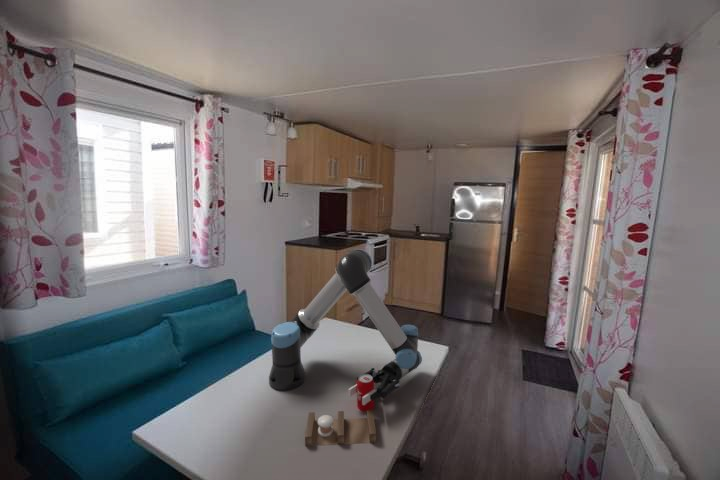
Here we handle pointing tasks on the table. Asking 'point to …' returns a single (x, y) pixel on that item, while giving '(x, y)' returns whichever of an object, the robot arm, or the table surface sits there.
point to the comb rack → (342, 430)
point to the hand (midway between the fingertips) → (355, 397)
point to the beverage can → (364, 391)
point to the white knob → (325, 426)
